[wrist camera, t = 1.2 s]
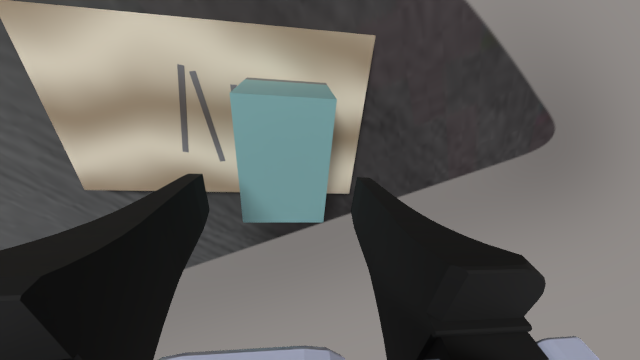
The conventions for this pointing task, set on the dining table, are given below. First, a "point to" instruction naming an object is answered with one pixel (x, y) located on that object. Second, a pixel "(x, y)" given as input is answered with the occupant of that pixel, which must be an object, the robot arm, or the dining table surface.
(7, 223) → the dining table surface
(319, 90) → the block
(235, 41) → the birch board
